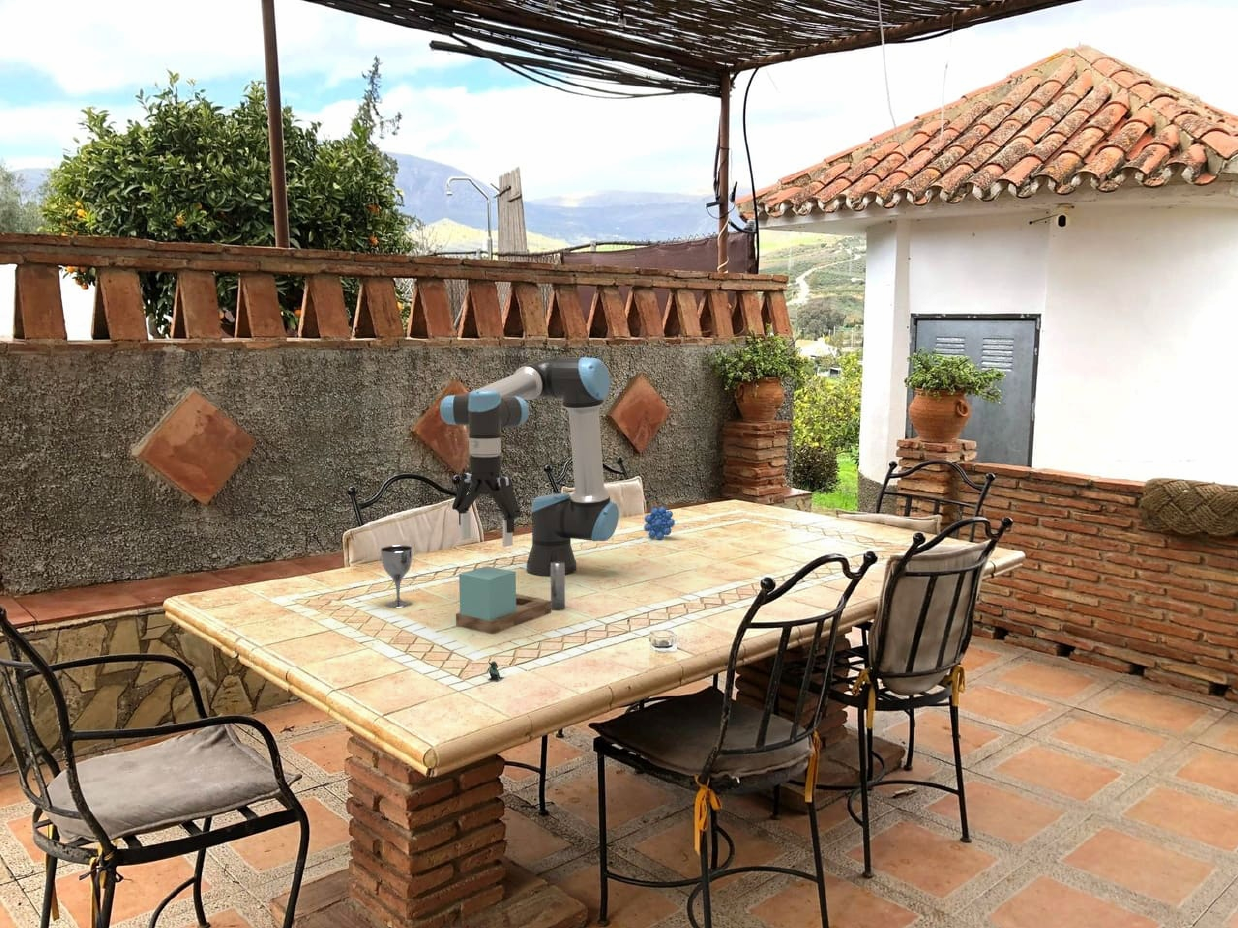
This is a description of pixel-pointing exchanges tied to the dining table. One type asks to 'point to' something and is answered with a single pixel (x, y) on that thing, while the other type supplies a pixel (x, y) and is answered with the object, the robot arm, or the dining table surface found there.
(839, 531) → the dining table surface
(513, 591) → the teal cube block
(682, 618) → the dining table surface
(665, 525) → the grapes
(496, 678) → the sculpture
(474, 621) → the board
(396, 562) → the wine glass
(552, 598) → the pin
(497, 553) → the dining table surface
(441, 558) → the dining table surface
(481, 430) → the robot arm
